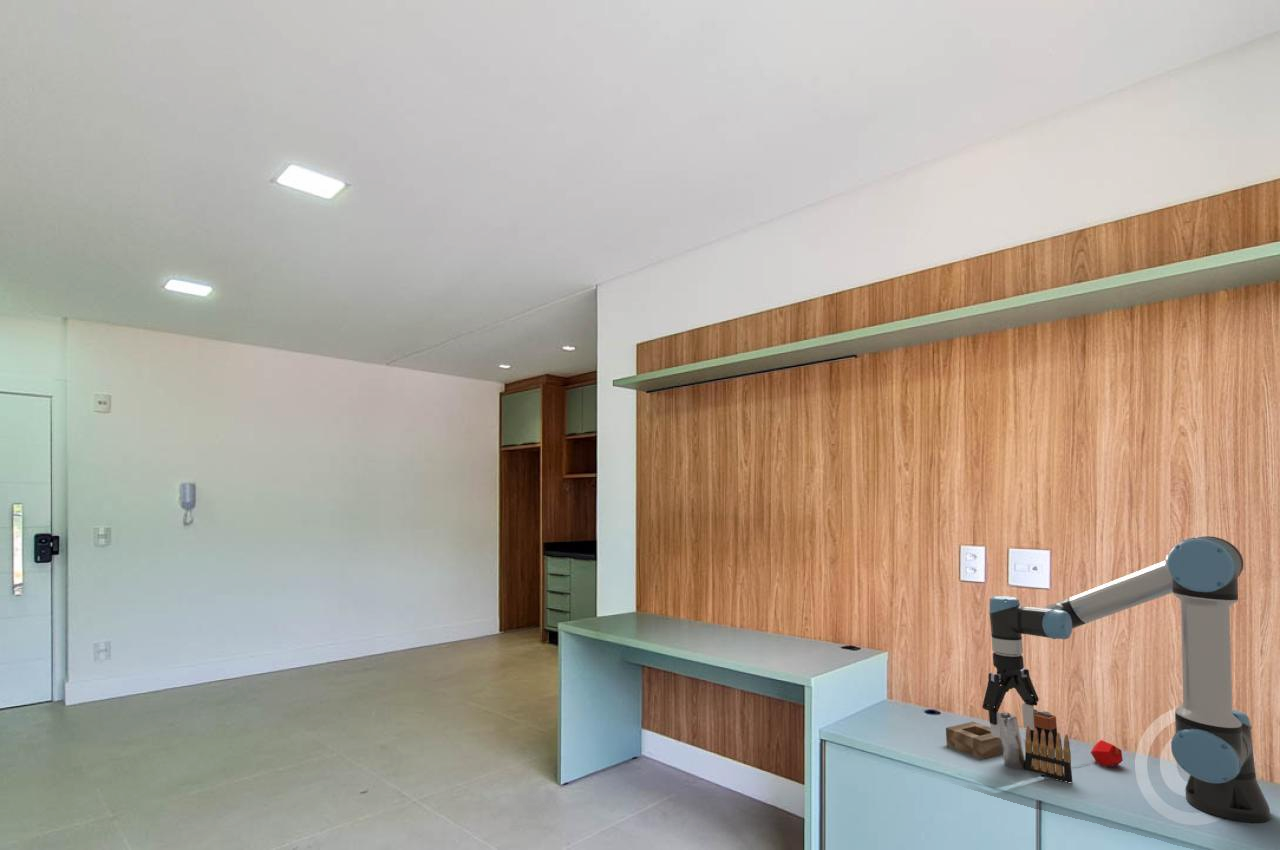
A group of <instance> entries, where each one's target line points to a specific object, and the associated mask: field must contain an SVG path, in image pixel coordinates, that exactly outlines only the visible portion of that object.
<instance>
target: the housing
mask: <svg viewBox="0 0 1280 850" xmlns="http://www.w3.org/2000/svg"><path fill="white" fill-rule="evenodd" d="M945 737H946V739H945V740H946V746H947V747H950V748H952V749H954V750H957V751H960V752H962V753H965V754H967V755H970V756H972V757H975V758H978V759H980V760H986V759H990V758H991V759H992V758H993V757H994V758H995V757H998V756H1003V753H1002V748H1001V743H1000V738H998V737H995V736H992V735H991V726H988V725H984V724H981V723H979V722H976V721H970V722H966V723H961V724H957V725H952V726H946V727H945Z"/></svg>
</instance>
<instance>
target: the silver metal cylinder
mask: <svg viewBox="0 0 1280 850" xmlns="http://www.w3.org/2000/svg"><path fill="white" fill-rule="evenodd" d="M999 713H1000V715H1001V730H1002V738H1000V743H1001V748H1002V753H1003V754H1002V758H1003V763H1004V766H1005V767H1007V768H1008V769H1012V770H1017V771H1018V770H1019V771H1023V770H1025V754H1024V753H1025V752H1024V747H1023V744H1022V738H1021V734H1020V733H1021V732H1020V728H1019V724H1018V717H1017V716H1016V715H1013V714H1011V713H1010V712H999Z"/></svg>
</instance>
